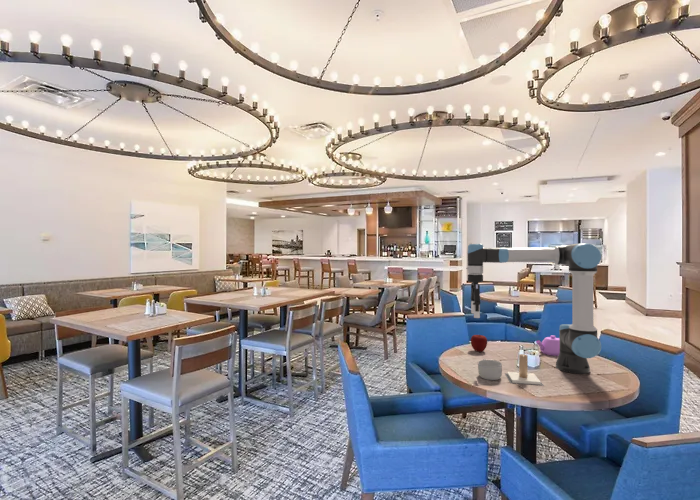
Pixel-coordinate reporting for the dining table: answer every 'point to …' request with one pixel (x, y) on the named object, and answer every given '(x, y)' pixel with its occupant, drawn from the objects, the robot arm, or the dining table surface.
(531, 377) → the lid
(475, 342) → the apple
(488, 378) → the teacup
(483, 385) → the dining table surface
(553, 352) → the teapot
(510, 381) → the mat
